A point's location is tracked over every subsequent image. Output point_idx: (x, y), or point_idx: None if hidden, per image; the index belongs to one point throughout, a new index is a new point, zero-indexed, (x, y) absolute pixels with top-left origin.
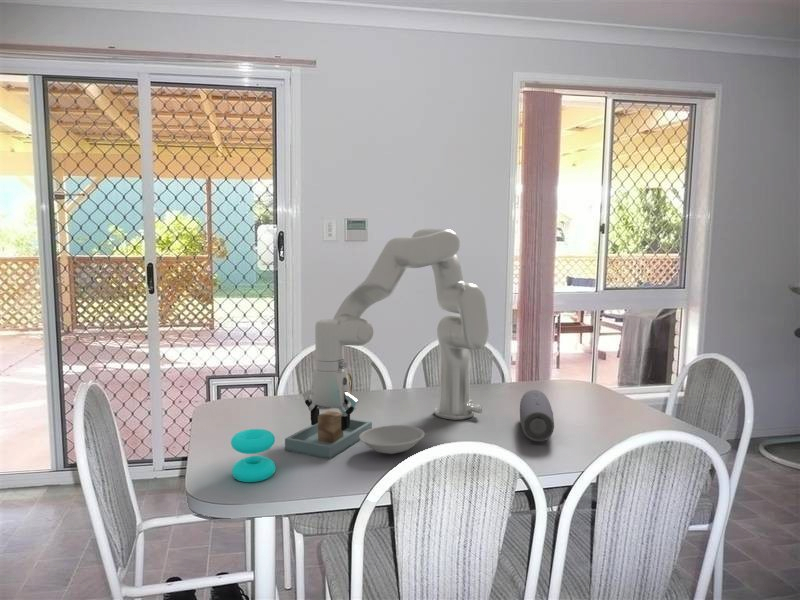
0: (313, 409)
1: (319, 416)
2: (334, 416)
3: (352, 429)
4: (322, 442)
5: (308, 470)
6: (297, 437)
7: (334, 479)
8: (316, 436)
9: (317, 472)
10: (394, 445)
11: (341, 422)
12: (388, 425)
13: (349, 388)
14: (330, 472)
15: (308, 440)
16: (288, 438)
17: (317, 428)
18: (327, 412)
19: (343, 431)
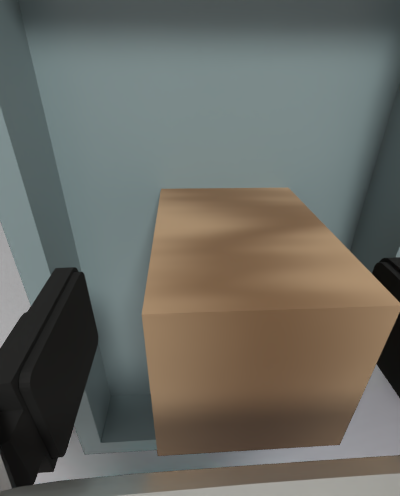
0: (28, 472)
1: (176, 448)
2: (329, 413)
3: None
4: None
5: (284, 451)
6: (93, 387)
7: (382, 455)
8: (110, 246)
9: (317, 449)
10: None
11: (391, 381)
12: None
13: None
14: (356, 437)
15: (118, 312)
16: (99, 449)
17: (48, 196)
18: (184, 365)
19: (226, 55)
